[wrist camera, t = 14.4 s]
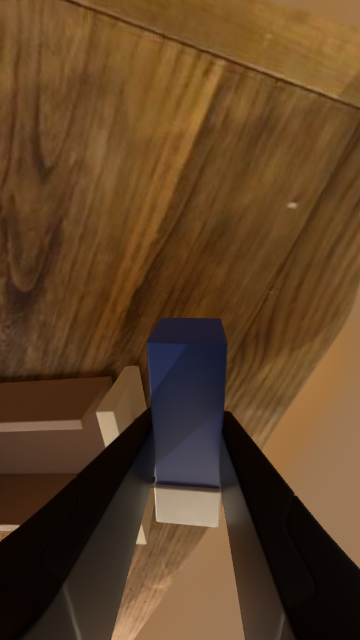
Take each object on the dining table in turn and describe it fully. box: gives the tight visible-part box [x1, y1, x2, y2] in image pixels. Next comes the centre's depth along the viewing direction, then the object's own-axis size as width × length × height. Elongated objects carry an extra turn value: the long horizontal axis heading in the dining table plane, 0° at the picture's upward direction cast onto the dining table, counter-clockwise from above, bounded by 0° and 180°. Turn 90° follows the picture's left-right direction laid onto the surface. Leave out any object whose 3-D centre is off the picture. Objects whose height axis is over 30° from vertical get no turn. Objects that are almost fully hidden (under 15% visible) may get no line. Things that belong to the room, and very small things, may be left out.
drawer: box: [0, 366, 155, 544], centre depth 20 cm, size 23×12×6 cm, turn 97°
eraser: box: [147, 318, 228, 527], centre depth 8 cm, size 7×2×2 cm, turn 1°
